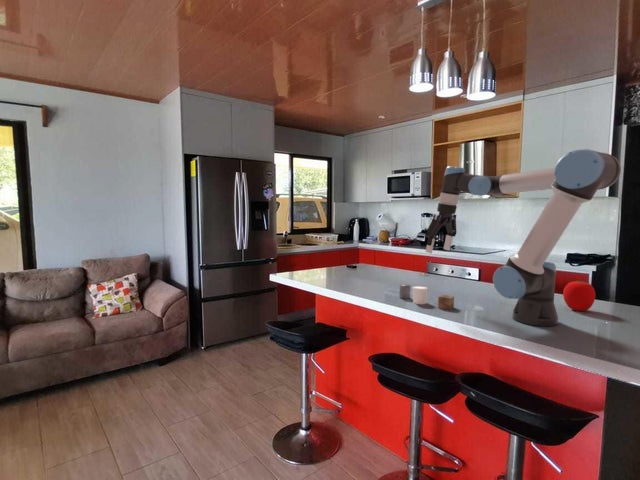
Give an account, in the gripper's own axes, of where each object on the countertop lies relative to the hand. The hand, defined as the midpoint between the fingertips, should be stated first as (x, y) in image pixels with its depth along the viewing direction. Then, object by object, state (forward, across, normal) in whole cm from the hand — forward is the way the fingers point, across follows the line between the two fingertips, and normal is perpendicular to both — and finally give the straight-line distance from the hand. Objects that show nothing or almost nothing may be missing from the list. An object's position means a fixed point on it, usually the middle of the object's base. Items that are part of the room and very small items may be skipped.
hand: (437, 251), depth 163 cm
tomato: (+16, -39, +47) cm, 63 cm away
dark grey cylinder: (+26, +2, -11) cm, 28 cm away
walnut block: (+22, +2, +11) cm, 25 cm away
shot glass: (+24, +4, -1) cm, 25 cm away
